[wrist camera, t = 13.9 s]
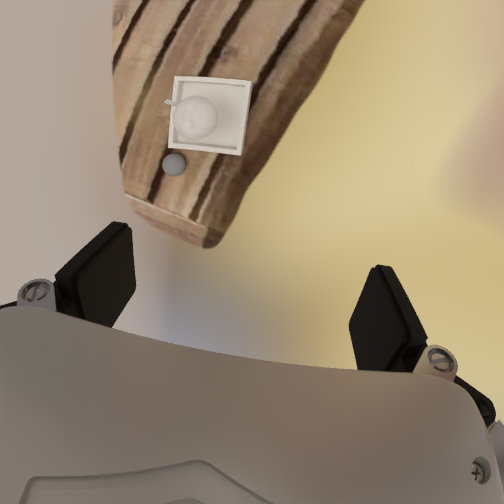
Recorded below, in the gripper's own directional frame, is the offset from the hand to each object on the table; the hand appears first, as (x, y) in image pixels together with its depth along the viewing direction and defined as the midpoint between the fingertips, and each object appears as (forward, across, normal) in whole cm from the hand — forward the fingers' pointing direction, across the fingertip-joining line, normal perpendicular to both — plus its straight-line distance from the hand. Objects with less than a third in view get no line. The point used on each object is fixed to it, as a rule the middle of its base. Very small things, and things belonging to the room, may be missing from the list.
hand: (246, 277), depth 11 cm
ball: (+28, +12, +3) cm, 31 cm away
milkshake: (+28, +8, -4) cm, 29 cm away
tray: (+28, +8, -4) cm, 30 cm away
